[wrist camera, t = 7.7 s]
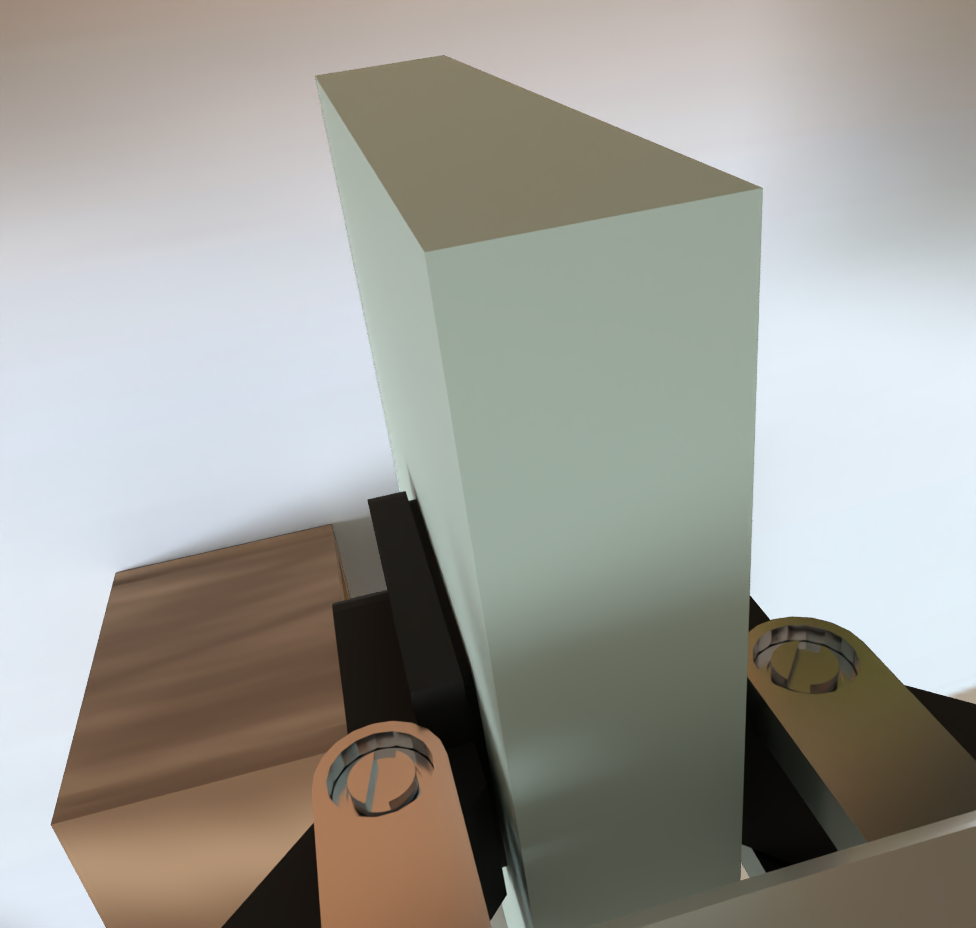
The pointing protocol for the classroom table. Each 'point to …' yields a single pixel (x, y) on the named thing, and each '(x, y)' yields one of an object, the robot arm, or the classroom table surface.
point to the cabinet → (203, 729)
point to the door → (570, 460)
